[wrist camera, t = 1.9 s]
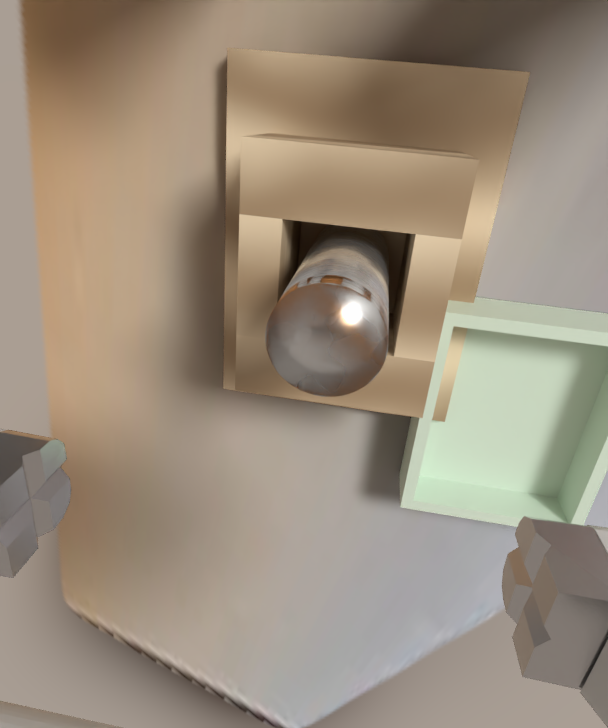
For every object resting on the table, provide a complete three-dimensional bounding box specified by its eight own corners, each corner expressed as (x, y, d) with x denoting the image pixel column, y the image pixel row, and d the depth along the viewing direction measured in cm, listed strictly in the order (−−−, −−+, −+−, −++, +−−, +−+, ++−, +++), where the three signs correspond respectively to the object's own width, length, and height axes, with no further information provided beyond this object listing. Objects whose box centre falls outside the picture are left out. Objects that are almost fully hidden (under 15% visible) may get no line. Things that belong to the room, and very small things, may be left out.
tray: (437, 292, 25) (442, 312, 22) (635, 316, 24) (664, 339, 21) (399, 474, 30) (400, 507, 27) (561, 500, 29) (578, 536, 26)
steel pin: (315, 214, 23) (268, 275, 14) (394, 223, 23) (398, 291, 14) (308, 290, 25) (262, 387, 16) (382, 299, 24) (378, 404, 15)
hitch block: (234, 50, 22) (183, 28, 16) (524, 74, 20) (571, 58, 15) (228, 380, 29) (191, 440, 23) (442, 412, 27) (455, 482, 22)
